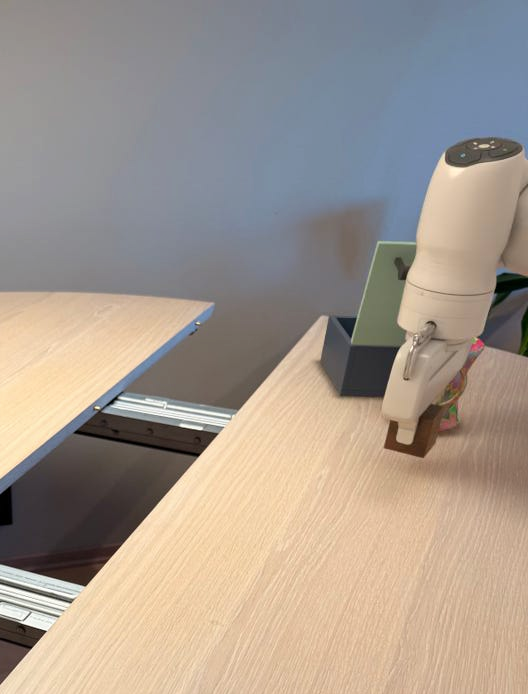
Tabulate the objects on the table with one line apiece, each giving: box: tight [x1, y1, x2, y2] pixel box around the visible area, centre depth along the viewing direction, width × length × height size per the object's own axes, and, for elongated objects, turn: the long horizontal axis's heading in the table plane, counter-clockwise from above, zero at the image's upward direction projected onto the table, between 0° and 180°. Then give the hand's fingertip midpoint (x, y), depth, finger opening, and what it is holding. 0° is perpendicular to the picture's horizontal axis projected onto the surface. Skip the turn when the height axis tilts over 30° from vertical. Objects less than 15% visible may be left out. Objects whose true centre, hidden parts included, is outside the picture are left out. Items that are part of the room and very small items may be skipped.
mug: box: [404, 335, 485, 432], centre depth 121 cm, size 12×9×11 cm
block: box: [383, 404, 445, 459], centre depth 112 cm, size 5×5×5 cm
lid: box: [351, 240, 417, 346], centre depth 122 cm, size 13×10×5 cm
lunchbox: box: [319, 314, 401, 398], centre depth 135 cm, size 13×10×7 cm
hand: (413, 432), depth 112 cm, fingers closed on block, 4 cm apart
